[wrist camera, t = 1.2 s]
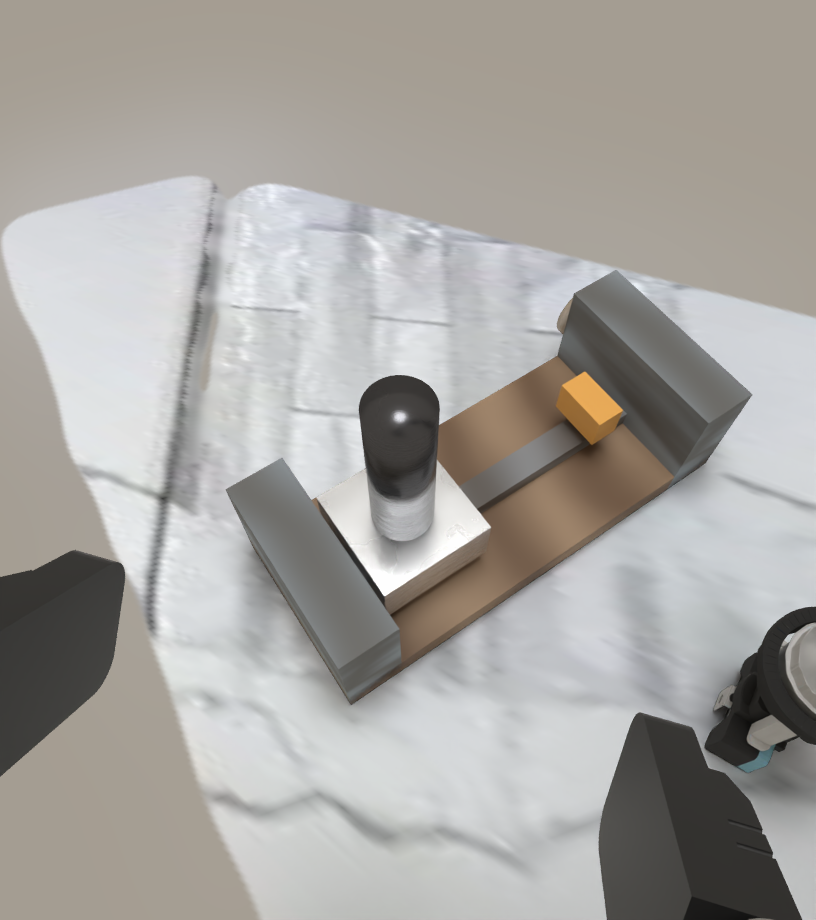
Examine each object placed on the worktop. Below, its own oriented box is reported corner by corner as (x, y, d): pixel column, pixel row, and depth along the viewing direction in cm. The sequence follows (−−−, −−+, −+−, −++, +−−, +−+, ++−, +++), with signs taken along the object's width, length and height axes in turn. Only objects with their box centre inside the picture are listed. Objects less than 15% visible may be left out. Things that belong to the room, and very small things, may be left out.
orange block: (577, 392, 42) (585, 371, 40) (614, 430, 41) (623, 410, 39) (555, 406, 42) (561, 385, 40) (591, 445, 40) (599, 425, 39)
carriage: (418, 465, 41) (420, 320, 30) (486, 551, 38) (512, 425, 28) (322, 523, 39) (289, 390, 29) (386, 616, 37) (375, 509, 26)
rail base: (589, 342, 48) (615, 263, 42) (708, 460, 44) (756, 391, 37) (250, 542, 41) (221, 483, 35) (351, 705, 37) (338, 669, 31)
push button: (721, 622, 39) (809, 546, 30) (824, 677, 37) (948, 614, 29) (671, 738, 36) (753, 692, 27) (780, 802, 35) (903, 775, 26)
